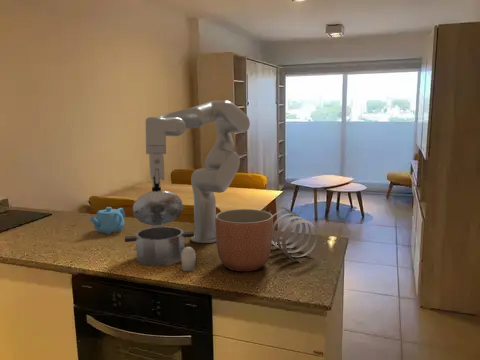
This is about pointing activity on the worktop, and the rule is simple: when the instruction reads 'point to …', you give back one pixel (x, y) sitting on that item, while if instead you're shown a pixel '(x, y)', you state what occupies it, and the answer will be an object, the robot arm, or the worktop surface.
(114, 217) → the teapot
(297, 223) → the spring
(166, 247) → the pot
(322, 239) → the worktop surface
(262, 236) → the planter
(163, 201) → the lid
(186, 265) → the salt cellar
